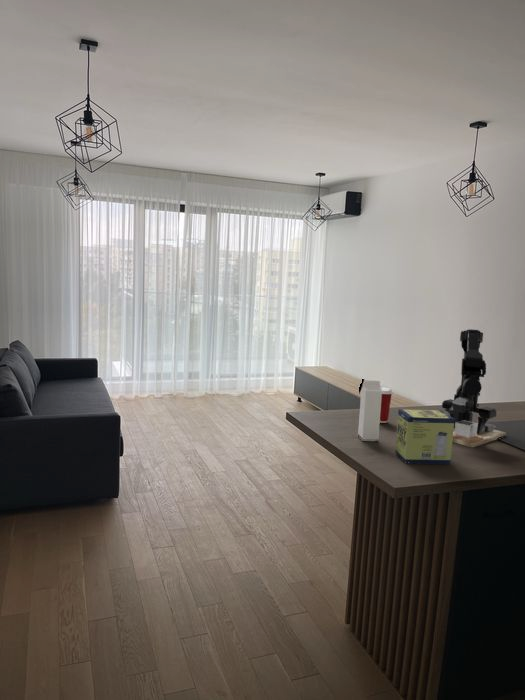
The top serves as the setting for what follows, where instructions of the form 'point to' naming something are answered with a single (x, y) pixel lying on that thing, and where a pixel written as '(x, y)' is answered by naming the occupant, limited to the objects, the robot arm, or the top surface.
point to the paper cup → (385, 403)
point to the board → (478, 438)
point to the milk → (370, 410)
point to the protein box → (424, 436)
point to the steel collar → (466, 429)
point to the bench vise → (486, 427)
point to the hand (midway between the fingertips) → (466, 431)
